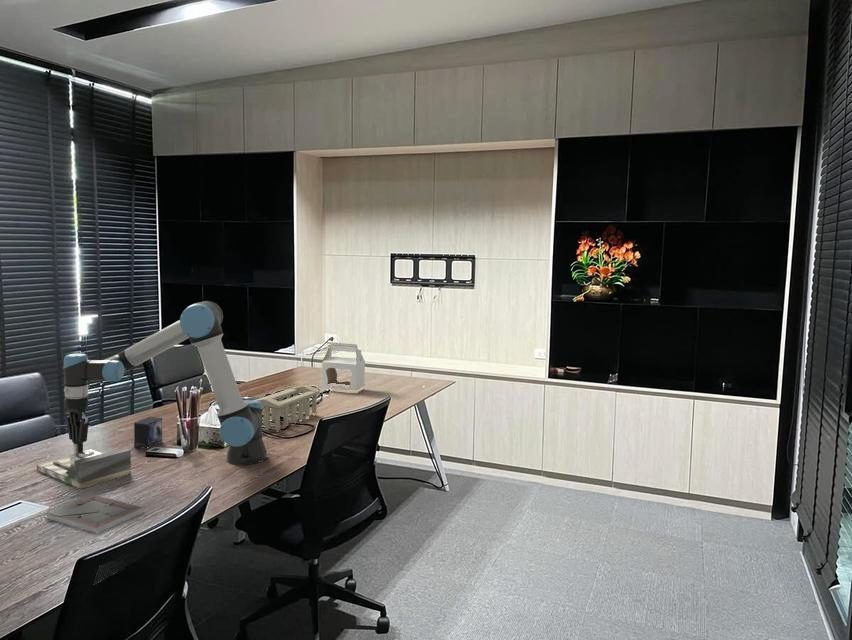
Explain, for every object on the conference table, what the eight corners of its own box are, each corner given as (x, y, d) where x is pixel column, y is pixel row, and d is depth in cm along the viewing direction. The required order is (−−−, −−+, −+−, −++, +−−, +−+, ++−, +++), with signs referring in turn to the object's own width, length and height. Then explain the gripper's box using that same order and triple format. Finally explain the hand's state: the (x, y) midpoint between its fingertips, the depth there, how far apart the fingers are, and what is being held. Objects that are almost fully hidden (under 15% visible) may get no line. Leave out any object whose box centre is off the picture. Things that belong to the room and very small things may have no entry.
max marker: (81, 477, 218) (81, 468, 218) (74, 479, 216) (74, 470, 216) (75, 474, 220) (74, 466, 220) (68, 476, 218) (67, 468, 218)
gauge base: (131, 474, 229) (130, 450, 228) (80, 489, 213) (79, 463, 212) (86, 457, 245) (85, 434, 244) (35, 470, 230) (34, 446, 229)
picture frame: (46, 520, 191) (96, 535, 182) (46, 512, 190) (96, 527, 182) (95, 501, 206) (143, 514, 197) (94, 494, 205) (143, 506, 197)
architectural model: (278, 433, 284) (278, 401, 282) (250, 429, 290) (250, 397, 288) (319, 415, 316) (320, 386, 315) (293, 411, 322) (294, 383, 320)
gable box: (321, 391, 369) (321, 343, 366) (330, 386, 382) (331, 340, 379) (356, 394, 364) (357, 346, 361) (364, 389, 376) (365, 343, 373)
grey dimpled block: (103, 467, 229) (103, 452, 228) (67, 477, 218) (66, 461, 218) (91, 462, 233) (90, 448, 233) (55, 472, 223) (54, 457, 222)
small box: (147, 449, 257) (147, 424, 256) (133, 447, 258) (132, 422, 257) (163, 441, 267) (163, 417, 266) (149, 440, 269) (149, 416, 267)
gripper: (56, 395, 229) (58, 458, 231) (75, 401, 222) (77, 466, 224) (77, 392, 235) (79, 453, 238) (96, 397, 228) (98, 460, 230)
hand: (78, 459), depth 231 cm, fingers closed
